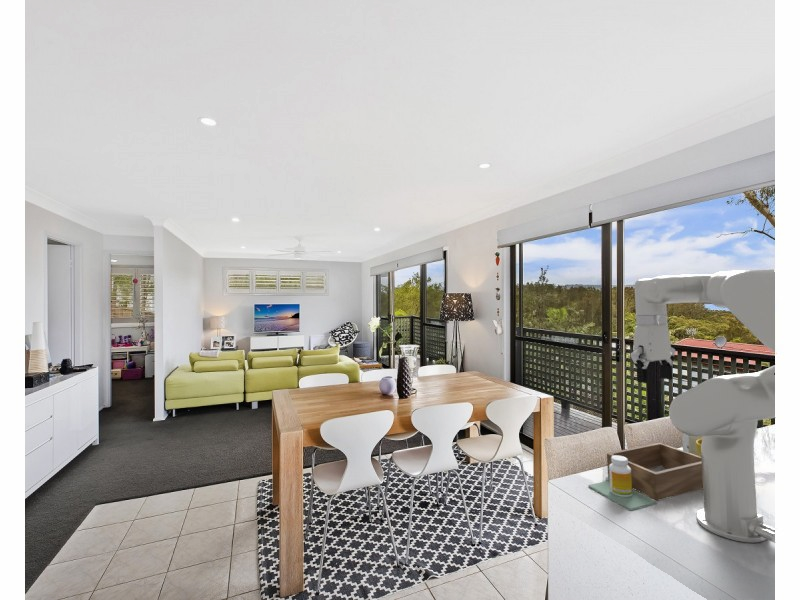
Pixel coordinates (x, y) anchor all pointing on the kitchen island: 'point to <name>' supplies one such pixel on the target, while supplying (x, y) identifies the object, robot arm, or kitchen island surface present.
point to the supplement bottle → (620, 476)
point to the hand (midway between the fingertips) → (654, 380)
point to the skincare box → (690, 443)
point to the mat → (628, 502)
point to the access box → (665, 483)
